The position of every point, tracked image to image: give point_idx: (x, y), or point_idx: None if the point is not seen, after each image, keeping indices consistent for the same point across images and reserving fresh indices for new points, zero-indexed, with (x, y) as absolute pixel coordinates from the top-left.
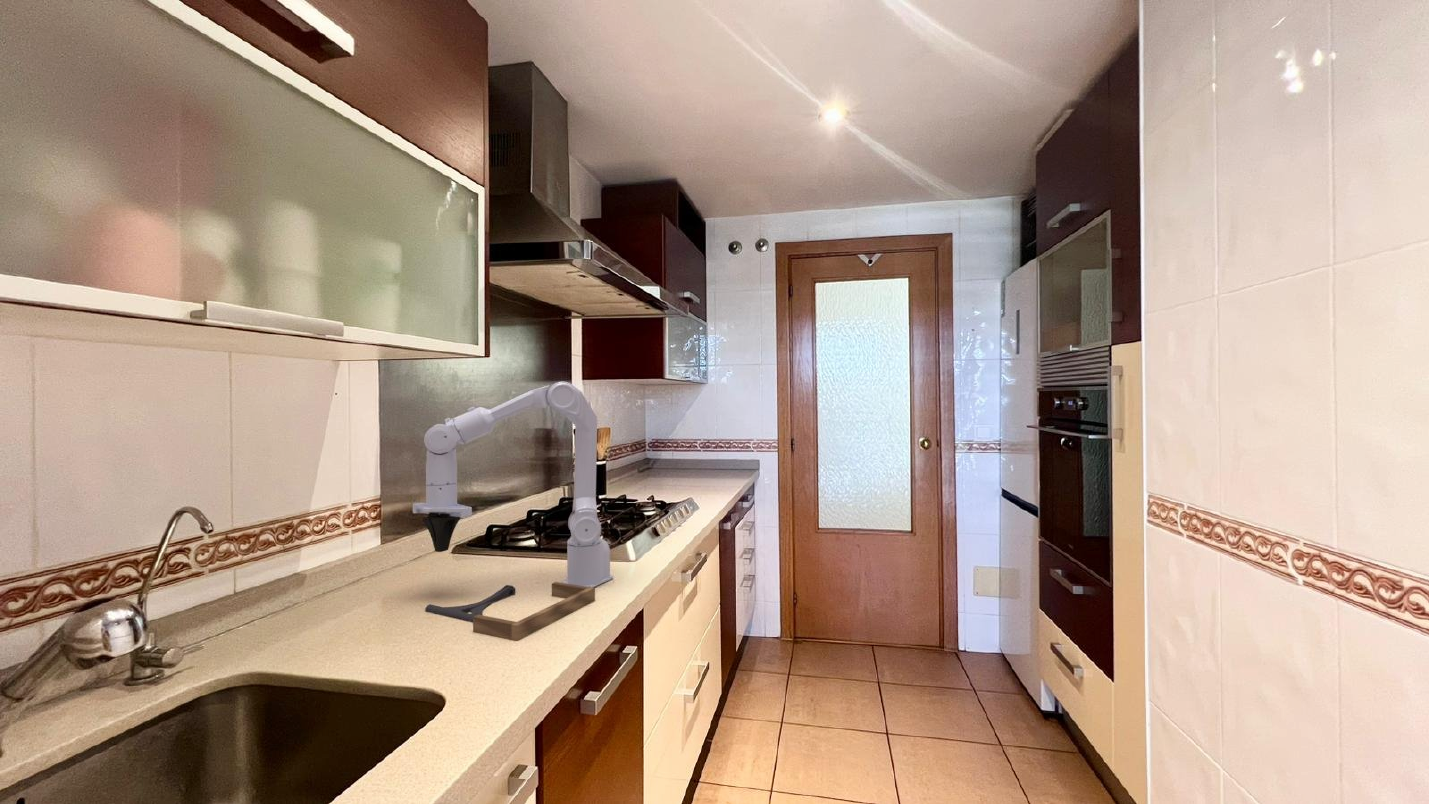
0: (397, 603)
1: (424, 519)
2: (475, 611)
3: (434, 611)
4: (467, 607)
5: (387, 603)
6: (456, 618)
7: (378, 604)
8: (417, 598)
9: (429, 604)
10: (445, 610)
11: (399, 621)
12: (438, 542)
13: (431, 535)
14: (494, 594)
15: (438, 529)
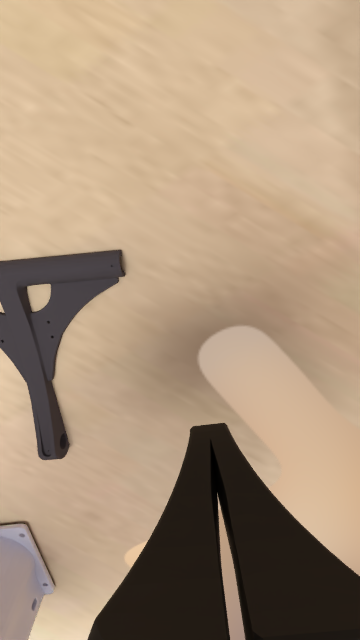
0: (266, 245)
1: (347, 631)
2: None
3: (76, 254)
4: (12, 315)
5: (296, 228)
6: None
7: (314, 206)
8: (253, 303)
9: (118, 266)
10: (34, 265)
11: (99, 151)
12: (189, 461)
13: (253, 486)
14: (45, 408)
15: (162, 546)
